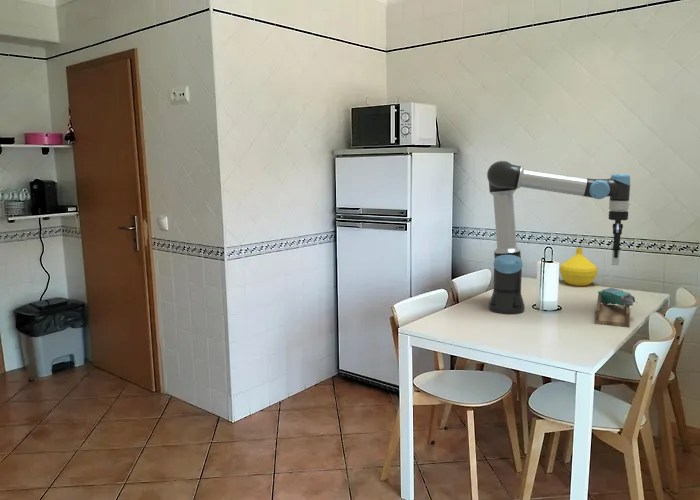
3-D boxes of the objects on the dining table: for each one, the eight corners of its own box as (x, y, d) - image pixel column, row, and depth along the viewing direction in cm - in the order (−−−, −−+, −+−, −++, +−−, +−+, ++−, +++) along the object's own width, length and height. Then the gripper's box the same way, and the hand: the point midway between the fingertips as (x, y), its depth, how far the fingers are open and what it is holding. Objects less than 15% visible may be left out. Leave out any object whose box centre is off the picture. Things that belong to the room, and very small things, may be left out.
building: (614, 300, 244) (646, 310, 214) (601, 304, 244) (630, 314, 215) (611, 287, 244) (642, 295, 214) (597, 291, 244) (626, 299, 214)
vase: (563, 287, 281) (564, 250, 278) (556, 280, 299) (557, 245, 296) (601, 288, 278) (603, 251, 275) (591, 280, 296) (593, 245, 293)
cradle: (595, 323, 218) (596, 310, 217) (597, 306, 243) (598, 294, 242) (628, 327, 213) (629, 313, 212) (627, 309, 238) (628, 297, 237)
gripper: (628, 212, 226) (625, 268, 230) (628, 209, 238) (624, 262, 242) (608, 211, 230) (605, 266, 233) (609, 209, 241) (606, 261, 245)
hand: (615, 264), depth 238 cm, fingers closed
